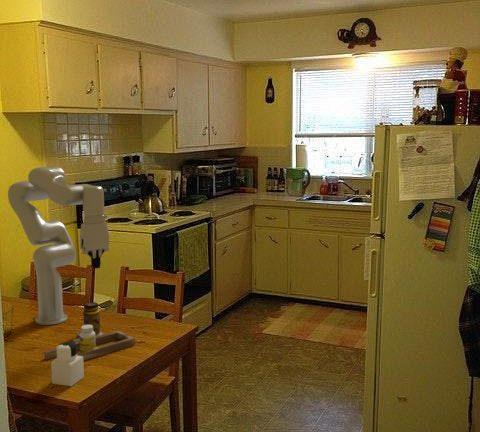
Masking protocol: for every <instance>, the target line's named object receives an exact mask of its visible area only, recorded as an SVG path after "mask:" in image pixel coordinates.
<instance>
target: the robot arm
mask: <svg viewBox="0 0 480 432" xmlns="http://www.w3.org/2000/svg"><path fill="white" fill-rule="evenodd" d="M104 194H105V192H104V188H103V187H102V186H100V185H92V184H88V183H81V184H80V183H79V184H70V185H68V183H67V177H66V173H65V171H64V170H63V169H62V168H61V167H60V166H39V167H35V168H33V169H31V170H30V171H29V173H28V175H27V180H23V181H22V180H21V181H17V182H14V183H12V184H11V185H10V186H9V187H8V191H7V198H8V202H9V205H10V207H11V209H12V210H13V212H14V213H15V214H16V216H17V218H18V219H19V221H20V224H21V226H22V229H23V230H24V233H25V235H26V238H27V239H28V241H29V243H30V244H31V245H32V246H39V247H38V248H36V249H35V250H34V251H33V253H32V260H33V265H34V268H35V273H36V285H37V303H38V304H37V305H38V316H37V317H35V319H34V321H35V323H36V324H37V325H41V326H52V325H58V324H61V323H64V322H65V321H67V320H68V315H67V314H66V313H64V306H63V304H64V303H63V302H64V301H63V285H62V284H63V283H62V277H61V274H60V273H59V272H58V270H57V269H56V268H59V267H63V266H68V265H71V264H73V263H74V262H75V261H76V259H77V250H76V248H75V245H74V243H73V240H72V238H71V237H70V234H69V232H68V230H67V228H66V226H65V225H64V223H62V221H59V220H57V219H54V220H45V219H44V218H43V216H42V214H41V212H40V210H39V209H38V208H37V207H36V206H34V205H33V204H31V203H30V202H35V201H36V202H37V201H42V200H43V201H44V200H48V199H50V200H51V201H52V202H53V203H55V204H57V205H61V206H63V207H71V206H77V205H78V206H79V205H82V211H83V214H82V215H83V223H81V225H80V231H79V248H80V249H81V254H83V255H85V256H86V255H88V256H89V258H90V263H91V264H90V265H91V267H92V268H93V269H96V270H97V269H100V268H101V263H102V262H101V258H102V257H103V256H102V255H103V254H104V253H105V252H108V251H109V250H110V235H109V229H108V225H107V222H106V219H108V214H105V197H104V196H105V195H104Z"/></svg>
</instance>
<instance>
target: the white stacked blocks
mask: <svg viewBox="0 0 480 432" xmlns="http://www.w3.org/2000/svg"><path fill="white" fill-rule="evenodd" d="M56 349H57V357H56V358H55V359H54V360H52V361H51V363H50V369H51V383H52V384H54V385H60V386H66V387H73V386H74V385H75V384H77V383H78V382H80V380H82V379H84V377H85V369H84V366H85V365H84V361H83V356H77V354H78V351H77V345H76V344H75V343H73V341H65V342H62V343H60V344H58V345H57V346H56Z"/></svg>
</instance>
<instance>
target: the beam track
mask: <svg viewBox="0 0 480 432" xmlns="http://www.w3.org/2000/svg"><path fill="white" fill-rule="evenodd" d="M95 338H96V347H95V348H92V349H91V350H88V351H84V352H81V353H80V352H78V351H80V337H78V338H75V339H73V340H72V342H73V343H75V344H76V345H77V356H83V362H84V361H87V360H90V359H94V358H97V357H100V356H103V355H106V354H109V353H113V352H117V351H119V350H123V349H125V348H129V347H132V346H135V345H136V337H134V336H131V335H129V334H127V333H125V332H123V331H121V330H116V331H112V332H109V333H104V334H103V335H99V336H95ZM115 340H117V341H116V342H115ZM118 340H119V341H118ZM111 341H114V342H112V343H109V344H105V343H108V342H111ZM101 344H105V345H101ZM98 345H101V346H98ZM43 354H44V359H45V360H50V359H54V358H57V349H56V348H52V349H48V350H45V351H44V353H43Z"/></svg>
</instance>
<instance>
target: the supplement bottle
mask: <svg viewBox="0 0 480 432" xmlns="http://www.w3.org/2000/svg"><path fill="white" fill-rule="evenodd" d="M80 332H81V333H80V336H79V338H80V350H79V353H81V352H84V351H88V350H91V349H92V348H95V347H97V345H96V338H95V337H96V336H95V332H94V331H93V326H92V325H84V324H83V325H82V326H81V331H80Z"/></svg>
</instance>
